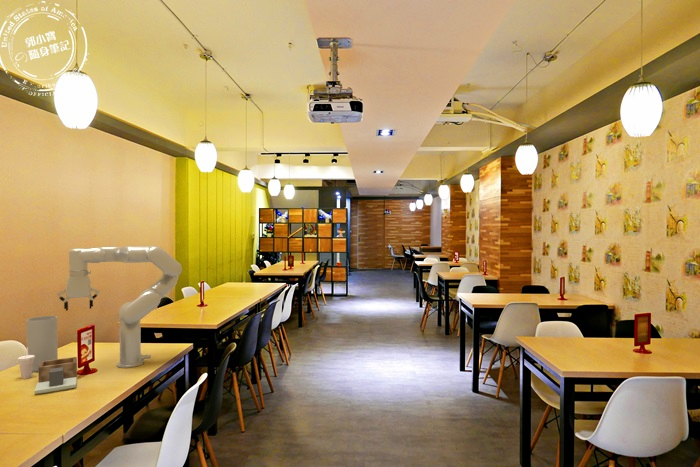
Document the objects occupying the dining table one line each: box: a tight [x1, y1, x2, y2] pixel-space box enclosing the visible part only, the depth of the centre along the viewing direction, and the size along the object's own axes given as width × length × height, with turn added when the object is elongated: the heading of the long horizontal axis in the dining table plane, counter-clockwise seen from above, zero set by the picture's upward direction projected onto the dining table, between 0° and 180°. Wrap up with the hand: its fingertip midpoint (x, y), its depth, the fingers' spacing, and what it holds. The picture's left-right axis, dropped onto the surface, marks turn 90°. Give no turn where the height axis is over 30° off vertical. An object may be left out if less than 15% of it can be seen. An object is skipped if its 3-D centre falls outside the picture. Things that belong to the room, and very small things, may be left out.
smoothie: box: [17, 346, 35, 380], centre depth 201 cm, size 6×6×14 cm
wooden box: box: [38, 356, 78, 383], centre depth 198 cm, size 14×11×8 cm
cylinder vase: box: [25, 315, 59, 373], centre depth 214 cm, size 12×12×25 cm
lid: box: [34, 367, 78, 395], centre depth 186 cm, size 14×11×8 cm
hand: (78, 309), depth 208 cm, fingers open, 9 cm apart
